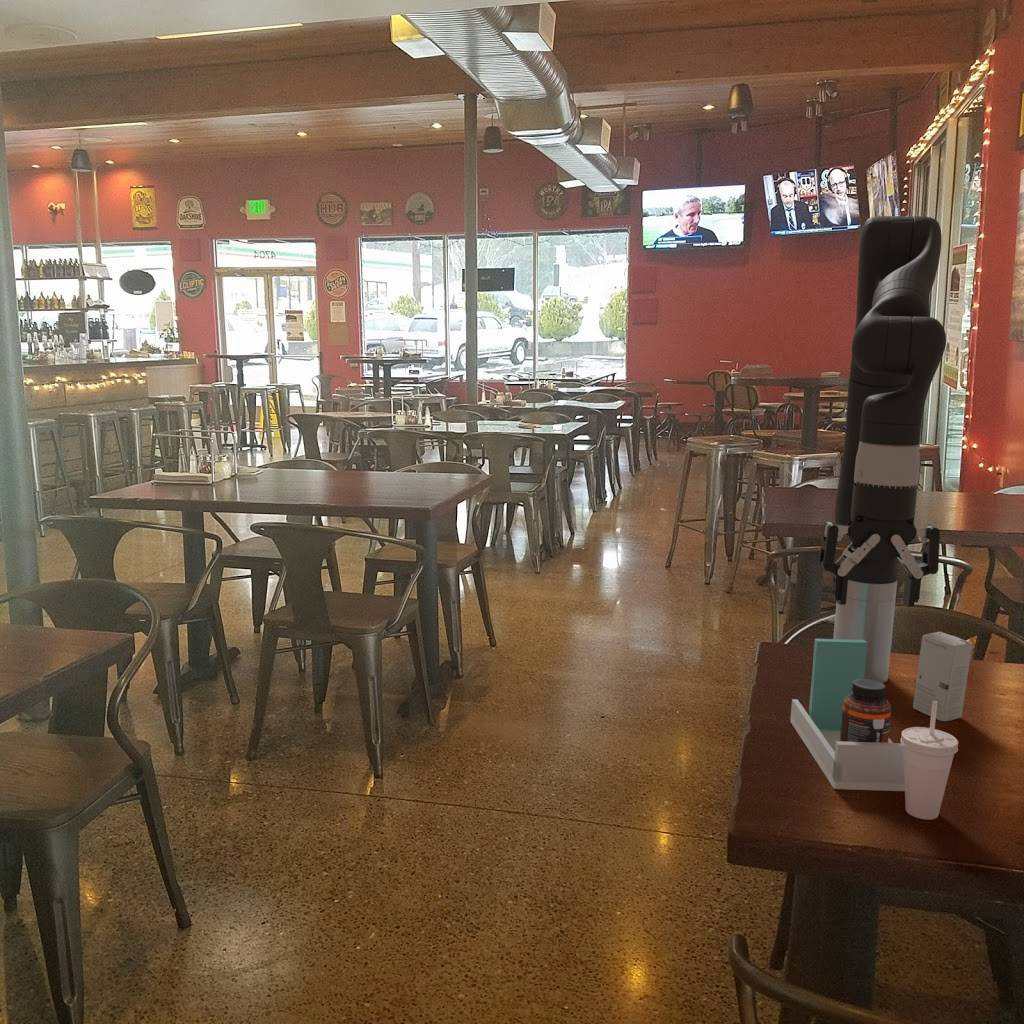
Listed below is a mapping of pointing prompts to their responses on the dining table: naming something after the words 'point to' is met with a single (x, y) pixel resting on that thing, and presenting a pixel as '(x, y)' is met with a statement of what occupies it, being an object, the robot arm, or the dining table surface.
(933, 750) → the smoothie
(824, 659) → the pusher
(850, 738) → the supplement bottle
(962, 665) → the skincare box
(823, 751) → the lane
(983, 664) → the dining table surface
